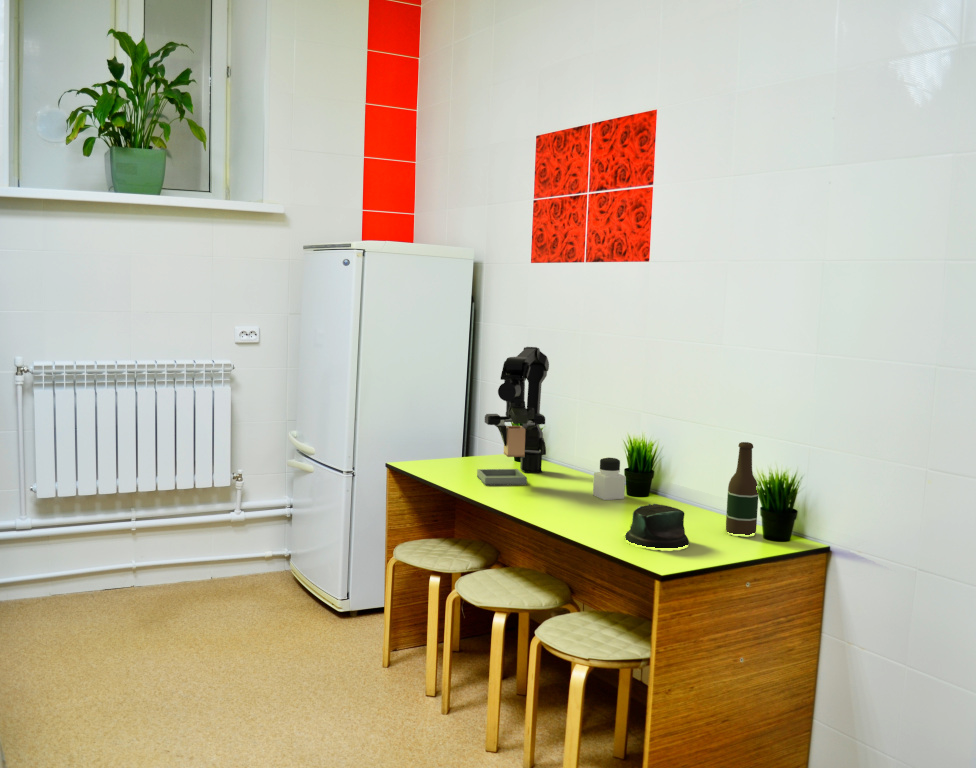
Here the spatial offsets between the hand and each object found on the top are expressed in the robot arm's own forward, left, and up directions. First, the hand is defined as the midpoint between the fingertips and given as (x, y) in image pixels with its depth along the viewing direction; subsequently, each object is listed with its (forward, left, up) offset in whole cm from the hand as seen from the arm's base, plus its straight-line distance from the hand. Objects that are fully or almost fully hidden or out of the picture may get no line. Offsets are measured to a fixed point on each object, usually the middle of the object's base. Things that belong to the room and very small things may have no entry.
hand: (514, 445), depth 272 cm
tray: (+3, -6, -13) cm, 14 cm away
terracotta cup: (0, 0, -3) cm, 3 cm away
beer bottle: (-46, +62, -13) cm, 79 cm away
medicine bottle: (-25, +19, -13) cm, 34 cm away
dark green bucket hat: (-21, +67, -13) cm, 72 cm away
